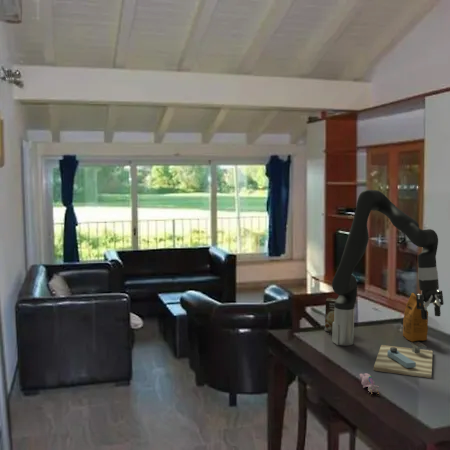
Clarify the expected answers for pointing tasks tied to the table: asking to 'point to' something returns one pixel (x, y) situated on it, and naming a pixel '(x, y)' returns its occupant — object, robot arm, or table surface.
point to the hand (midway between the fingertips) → (431, 317)
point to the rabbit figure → (368, 383)
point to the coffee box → (329, 313)
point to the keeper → (417, 347)
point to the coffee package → (414, 321)
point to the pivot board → (393, 366)
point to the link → (401, 359)
